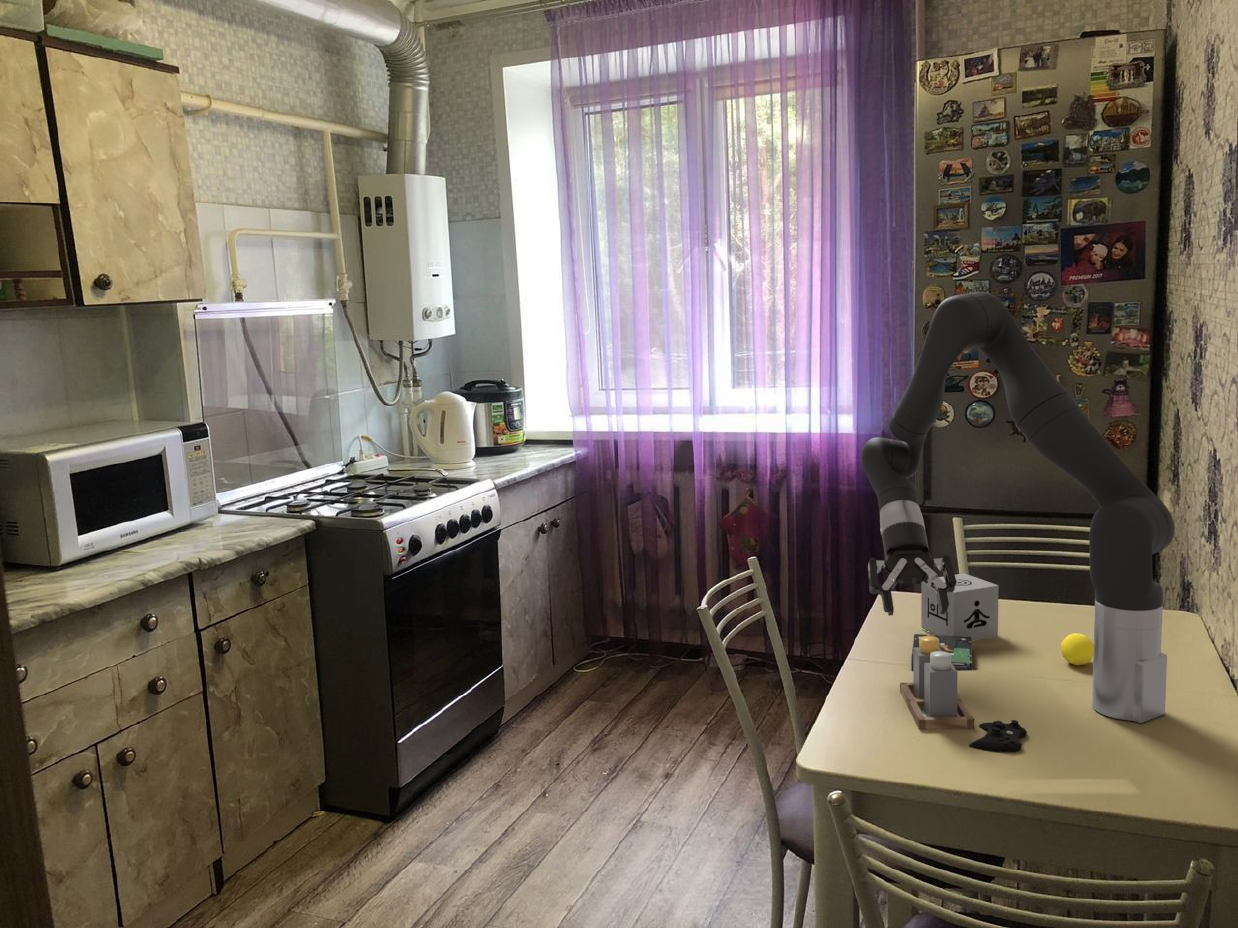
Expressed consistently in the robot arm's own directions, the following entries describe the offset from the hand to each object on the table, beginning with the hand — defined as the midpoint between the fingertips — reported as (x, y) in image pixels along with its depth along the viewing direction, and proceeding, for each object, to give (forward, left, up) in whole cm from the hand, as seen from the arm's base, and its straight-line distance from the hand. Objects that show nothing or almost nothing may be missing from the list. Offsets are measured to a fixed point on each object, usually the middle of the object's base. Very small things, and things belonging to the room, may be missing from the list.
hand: (917, 612), depth 170 cm
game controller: (-25, +10, -13) cm, 30 cm away
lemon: (-10, -28, -12) cm, 32 cm away
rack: (-12, +9, -12) cm, 19 cm away
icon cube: (+14, -25, -12) cm, 31 cm away
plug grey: (-15, +11, -11) cm, 21 cm away
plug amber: (-9, +7, -11) cm, 16 cm away
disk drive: (+5, -11, -13) cm, 18 cm away
